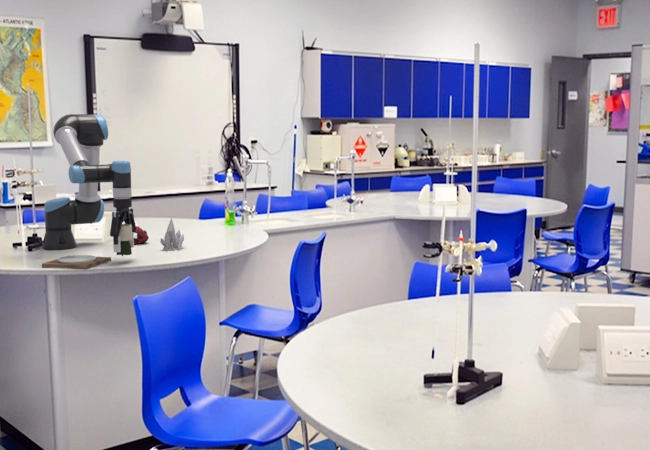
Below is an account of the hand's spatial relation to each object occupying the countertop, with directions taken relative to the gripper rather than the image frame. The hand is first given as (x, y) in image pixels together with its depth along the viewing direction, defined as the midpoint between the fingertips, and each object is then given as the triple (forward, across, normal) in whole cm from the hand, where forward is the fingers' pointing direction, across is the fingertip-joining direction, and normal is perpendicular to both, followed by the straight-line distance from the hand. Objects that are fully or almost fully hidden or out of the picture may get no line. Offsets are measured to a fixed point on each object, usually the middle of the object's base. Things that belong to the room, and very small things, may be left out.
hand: (124, 249), depth 315 cm
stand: (+6, +7, -18) cm, 20 cm away
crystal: (+6, -38, +5) cm, 39 cm away
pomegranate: (+6, -49, -21) cm, 54 cm away
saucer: (+4, +7, -18) cm, 20 cm away
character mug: (+3, 0, 0) cm, 3 cm away
